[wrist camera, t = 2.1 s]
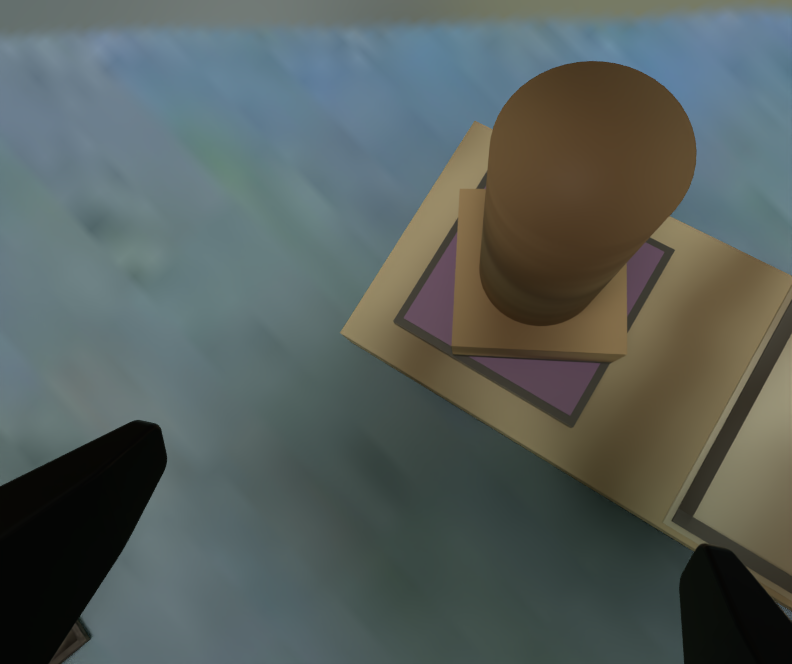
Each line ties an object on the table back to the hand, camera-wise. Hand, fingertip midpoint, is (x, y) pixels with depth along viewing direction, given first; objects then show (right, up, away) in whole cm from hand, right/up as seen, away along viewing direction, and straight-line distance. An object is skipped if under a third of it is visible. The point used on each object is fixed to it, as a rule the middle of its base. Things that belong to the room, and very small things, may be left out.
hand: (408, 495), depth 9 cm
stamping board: (+11, +1, +13) cm, 17 cm away
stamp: (+5, +4, +12) cm, 13 cm away
